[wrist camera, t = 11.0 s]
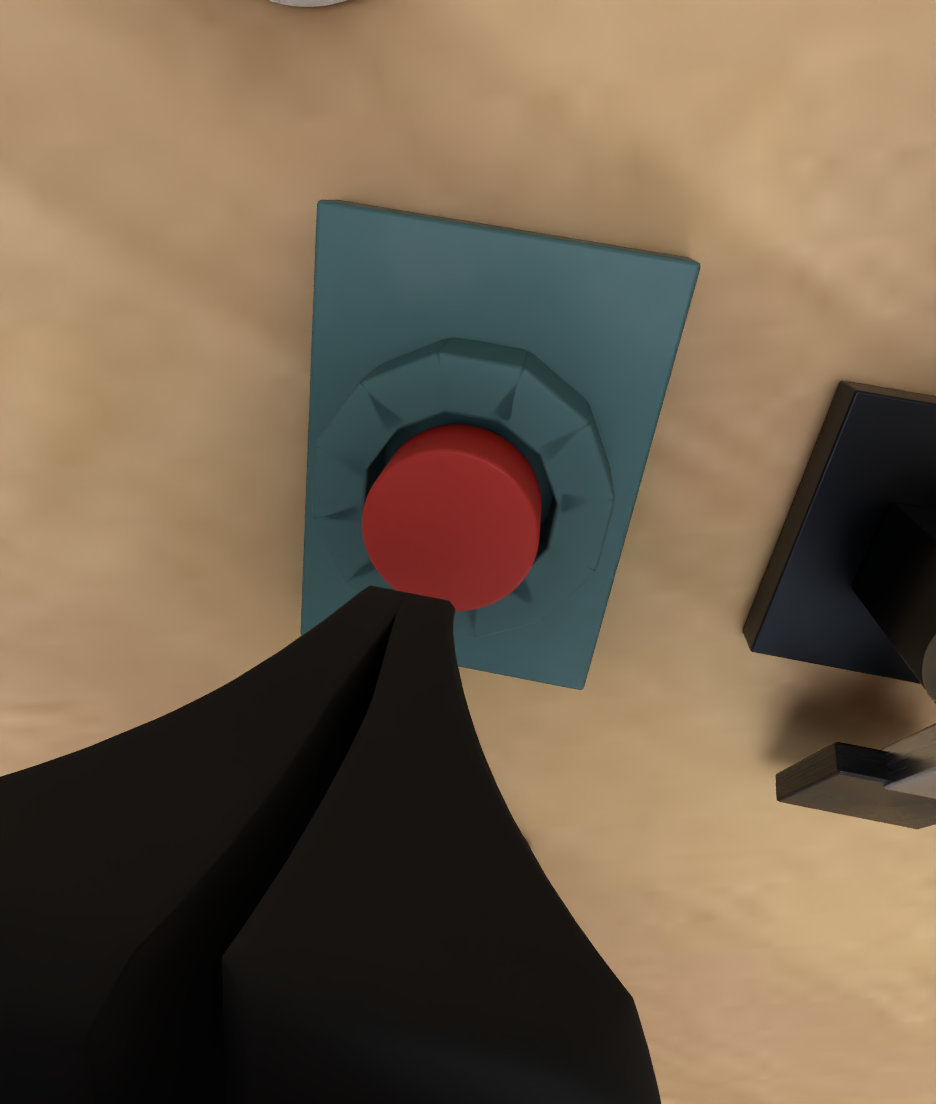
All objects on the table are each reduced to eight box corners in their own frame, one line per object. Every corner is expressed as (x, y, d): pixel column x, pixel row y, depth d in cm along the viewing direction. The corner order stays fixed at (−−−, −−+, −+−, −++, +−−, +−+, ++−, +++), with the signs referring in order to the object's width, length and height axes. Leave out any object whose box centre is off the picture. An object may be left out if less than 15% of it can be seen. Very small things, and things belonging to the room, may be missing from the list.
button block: (582, 662, 20) (584, 736, 17) (315, 610, 21) (275, 675, 18) (691, 257, 15) (720, 270, 12) (335, 199, 16) (284, 198, 13)
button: (525, 586, 16) (521, 627, 15) (374, 558, 16) (354, 595, 15) (556, 439, 15) (555, 467, 13) (388, 409, 15) (367, 433, 13)
